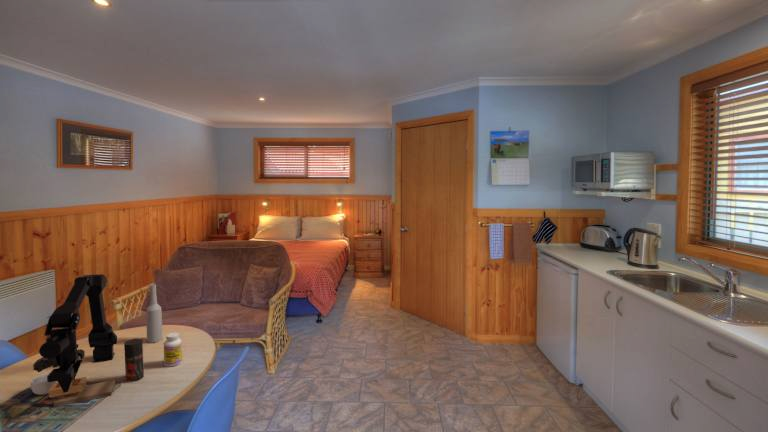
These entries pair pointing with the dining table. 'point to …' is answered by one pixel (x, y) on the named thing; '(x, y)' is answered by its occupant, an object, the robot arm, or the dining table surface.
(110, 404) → the dining table surface
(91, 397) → the board
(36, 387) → the teacup
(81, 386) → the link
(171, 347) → the supplement bottle
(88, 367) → the dining table surface
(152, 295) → the bottle
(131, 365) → the deodorant
